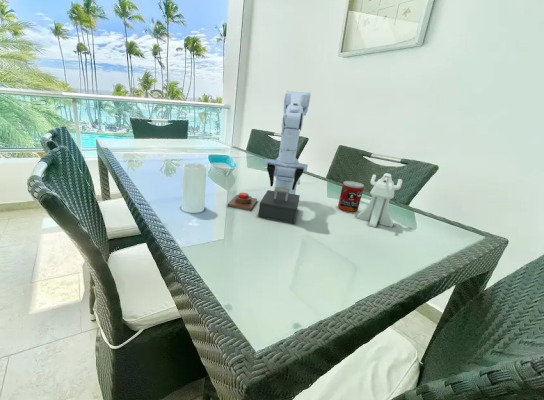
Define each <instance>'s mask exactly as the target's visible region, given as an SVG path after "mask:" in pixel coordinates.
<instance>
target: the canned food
mask: <svg viewBox="0 0 544 400" xmlns="http://www.w3.org/2000/svg"><path fill="white" fill-rule="evenodd" d="M364 187H365V185H364V184H363V183H361V182H358V181H352V180H345V181H343V183H342V186H341V190H340V195H339V198H338V199H339V200H338V204H337V208H338V209H339V210H340V211H342V212H345V213H351V214H354V213H357V212H358V210H359V209H360V204H361V199H362V196H363V191H364Z"/></svg>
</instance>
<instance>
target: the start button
mask: <svg viewBox="0 0 544 400" xmlns="http://www.w3.org/2000/svg"><path fill="white" fill-rule="evenodd" d="M238 194H239V198H243V199H247V198H248V195H249V193H247V192H239V193H238Z"/></svg>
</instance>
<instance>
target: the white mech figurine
mask: <svg viewBox="0 0 544 400" xmlns="http://www.w3.org/2000/svg"><path fill="white" fill-rule="evenodd" d="M376 178H377V175H376V174H372V175H371V179H370V181H369V182H370V185H371V186H373V187H372V188H371V190H370V192H369V194H370V195H371V199H370V201H369V203H368V205H367V206H366V207H365V208H364V209H362V210H361V211H359V212H358V214H357V216H356V219H360V220H364V221H368V222H369V223H368V226H369V227H373V228H377V225H378V224H379V225H383V226H385V227H386V226H387V227H390V228H392V227H393V226H394V221H393V219H392V217H391V213H390V207H389V206H390V201H391V200H392V199H394V196H395V194H396V193H395V191H399V190H400V189H401V188H402V184H403V179H402V178H398V180H397V183H396V184H395V182H394V181H393V178H392V174H391V173H388V172H386V173H384V174H383V176H382V177H381V178H379V179H378V180H377V181H376Z"/></svg>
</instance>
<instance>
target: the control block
mask: <svg viewBox="0 0 544 400" xmlns="http://www.w3.org/2000/svg"><path fill="white" fill-rule="evenodd" d="M257 202H258V198H257V197H256V198H255V197H252V196H251V195H249V194H248V198H247V199H243V198H239V193H238V194H236V195H235V196H234V197H233V198H232V199H231V200H230V201H229V202H228V203H227V207H229V208H233V209H239V210H244V211H249V212H251V211H252V210H253V208H254V207H255V205H256V203H257Z"/></svg>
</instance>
